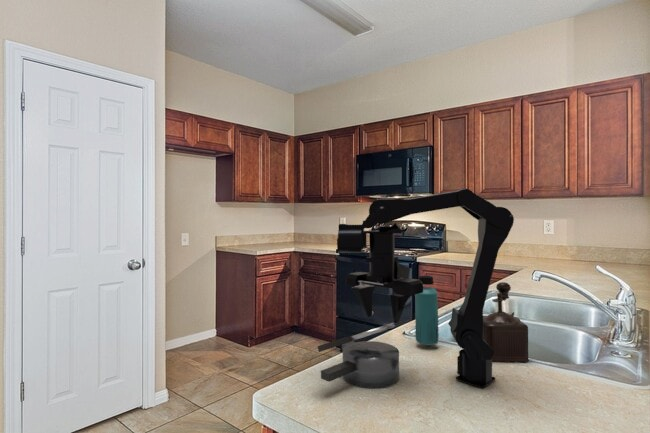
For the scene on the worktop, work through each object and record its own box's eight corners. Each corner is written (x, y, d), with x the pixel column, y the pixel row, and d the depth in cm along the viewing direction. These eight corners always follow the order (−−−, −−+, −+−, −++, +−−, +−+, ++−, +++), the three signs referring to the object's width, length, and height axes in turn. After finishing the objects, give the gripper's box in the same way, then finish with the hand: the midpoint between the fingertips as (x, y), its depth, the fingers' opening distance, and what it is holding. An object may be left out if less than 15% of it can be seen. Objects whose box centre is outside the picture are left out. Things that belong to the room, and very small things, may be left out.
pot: (410, 376, 90) (410, 350, 90) (348, 407, 76) (347, 376, 76) (364, 360, 101) (364, 337, 100) (301, 385, 86) (301, 358, 86)
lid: (406, 323, 91) (404, 318, 92) (343, 344, 77) (341, 338, 77) (367, 335, 100) (365, 331, 100) (303, 356, 85) (302, 351, 86)
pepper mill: (532, 363, 98) (532, 291, 98) (487, 362, 99) (486, 291, 99) (508, 343, 113) (508, 281, 113) (469, 342, 114) (469, 280, 114)
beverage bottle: (439, 351, 107) (439, 278, 107) (415, 349, 108) (414, 277, 108) (437, 343, 113) (437, 274, 113) (414, 342, 115) (414, 273, 114)
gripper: (436, 252, 89) (436, 321, 89) (373, 248, 103) (373, 307, 103) (407, 256, 82) (408, 331, 82) (343, 251, 95) (344, 315, 96)
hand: (382, 319), depth 91 cm, fingers open, 8 cm apart
